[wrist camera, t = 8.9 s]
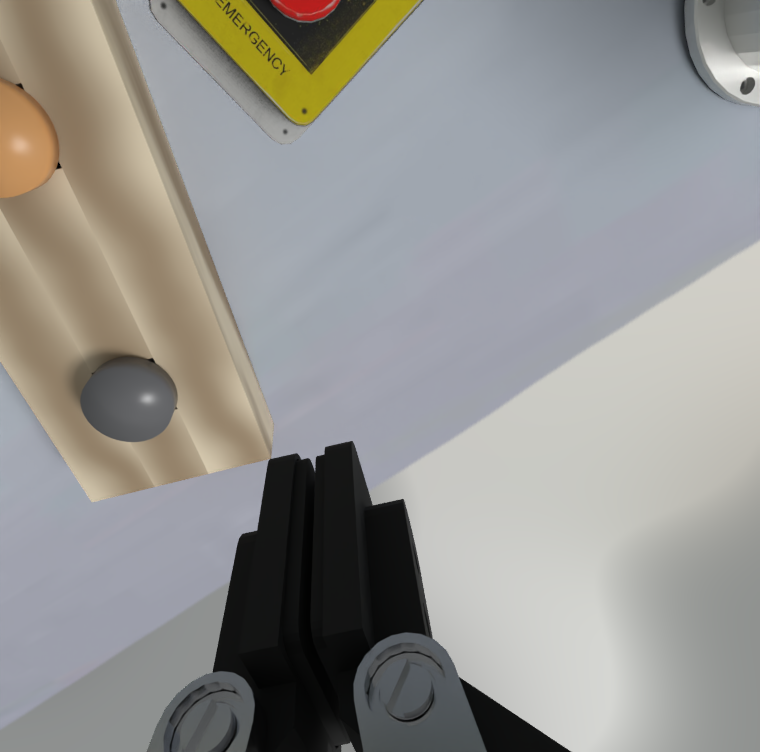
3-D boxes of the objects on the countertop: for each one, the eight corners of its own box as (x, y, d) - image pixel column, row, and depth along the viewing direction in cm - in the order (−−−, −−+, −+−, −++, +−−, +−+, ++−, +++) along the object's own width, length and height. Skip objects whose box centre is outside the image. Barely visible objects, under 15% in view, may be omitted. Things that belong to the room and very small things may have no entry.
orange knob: (61, 66, 26) (7, 62, 21) (106, 167, 28) (66, 184, 24) (-34, 88, 26) (-110, 89, 21) (19, 188, 28) (-39, 208, 24)
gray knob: (173, 320, 33) (151, 360, 28) (201, 384, 35) (185, 430, 31) (98, 338, 33) (63, 381, 28) (131, 401, 35) (104, 450, 30)
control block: (90, -66, 24) (54, -92, 20) (273, 424, 38) (270, 458, 34) (-168, -7, 24) (-249, -22, 20) (111, 463, 38) (91, 502, 34)
